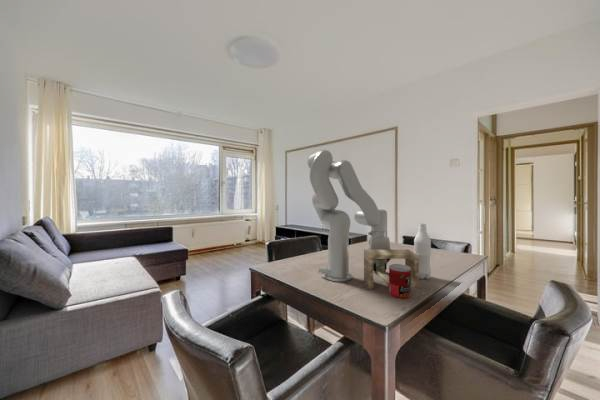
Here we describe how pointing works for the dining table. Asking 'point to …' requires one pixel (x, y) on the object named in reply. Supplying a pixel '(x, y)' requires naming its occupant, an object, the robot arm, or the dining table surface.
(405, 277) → the canned food
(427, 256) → the water bottle
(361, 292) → the dining table surface
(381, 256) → the oak shelf
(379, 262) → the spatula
